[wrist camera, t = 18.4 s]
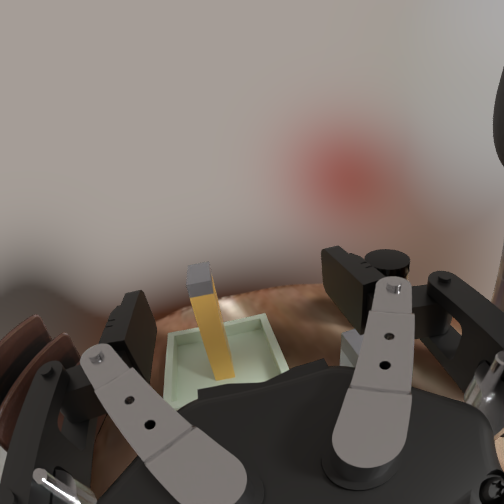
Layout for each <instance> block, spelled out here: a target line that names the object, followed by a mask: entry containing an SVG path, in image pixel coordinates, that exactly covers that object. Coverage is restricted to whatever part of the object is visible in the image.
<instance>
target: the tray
mask: <svg viewBox="0 0 504 504" xmlns="http://www.w3.org/2000/svg"><path fill="white" fill-rule="evenodd" d="M223 323H224V327H225V331H226V335H227V339H228V343H229V347H230V351H231V356H232V361H233V367H234V372H235V377H234V378H229V379H224V380H218V381H216V380H215V377H214V374H213V371H212V368H211V365H210V362H209V359H208V356H207V353H206V350H205V347H204V343H203V340H202V337H201V334H200V331H199V327H198V328H193V329H188V330H182V331H177V332H171V333H168V340H167V351H166V364H165V377H164V393H163V399H164V400H165V401H166V402H167V403H168V404H169V405H170V406H171V407H172V408H173V409H174V410H175V411H177V410H179V409H180V408H181V407H183V406H184V405H186V404H188V403H190V402H192V401H194V400H196V399H198V392H197V389H202V388H208V387H213V386H218V385H223V384H228V383H258V382H264V381H267V380H269V379H271V378H273V377H275V376H277V375H279V374H281V373H284V372H286V371H288V370H289V367H288V365H287V363H286V360H285V358H284V356H283V353H282V351H281V349H280V347H279V344H278V342H277V340H276V337H275V335H274V333H273V330H272V328H271V326H270V323H269V321H268V319H267V316H266V314H265V313H264V314H259V315H255V316H251V317H246V318H242V319H237V320H233V321H228V322H223Z"/></svg>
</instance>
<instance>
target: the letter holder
mask: <svg viewBox="0 0 504 504" xmlns="http://www.w3.org/2000/svg"><path fill="white" fill-rule="evenodd" d="M80 359H81V357H80V355H79V353H78V351H77V350H76V348H75V346H74V344H73V342H72V340H71V338H70V336H69V335H68V334H67V333H66V332H63V333H61V334H60V335H58V336H57V337H56V338H54V339H53V340H52V338H51V336H50V335H49V333H48V330H47V328H46V326H45V324H44V322H43V320H42V318H41V317H40V316H39V315H37V314H36V315H32V316H30V317H29V318H27V319H26V320H24V321H23V322H21V323H20V324H19V325H17V326H16V327H15V328H14V329H12V330H11V331H10V332H9V333H8V334H7V335H6V336H5V337H4V338H3V339H1V341H0V446H1V447H2V448H3V449H4V450H5V451H6V452H8V448H9V445H10V442H11V438H12V435H13V432H14V429H15V426H16V423H17V420H18V417H19V414H20V411H21V409H22V406H23V403H24V401H25V398H26V396H27V393H28V391H29V388H30V386H31V383H32V381H33V379H34V376H35V374H36V372H37V370H38V369H39V368H40V367H41V366H42V365H44V364H45V363H47V362H50V361H59V362H61V364H62V365H63V367H64V368H65V370H66V369H68V368H71V367H74V366H77V365H79V364H80ZM106 415H107V414H104V415H101V416H98V419H97V426H96V433H95V439H96V436H97V434H98V432H99V430H100V428H101V425H102V423H103V421H104V419H105V417H106ZM63 420H64V416H63V414H62V413H61V412H60V413H59V416H58V427H59V430H60V432H61V429H62V424H63ZM94 441H95V440H94Z"/></svg>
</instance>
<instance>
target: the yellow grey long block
mask: <svg viewBox="0 0 504 504" xmlns="http://www.w3.org/2000/svg"><path fill="white" fill-rule="evenodd" d="M186 286H187V290H188V293H189V297H190V300H191V304H192V307H193V311H194V314H195V318H196V321H197V324H198V327H199V331H200V334H201V337H202V340H203V343H204V347H205V350H206V353H207V356H208V359H209V362H210V365H211V368H212V371H213V374H214V377H215V380H216V381H218V380H224V379H229V378H234V377H235V372H234V367H233V361H232V356H231V351H230V347H229V343H228V339H227V335H226V331H225V327H224V323H223V319H222V315H221V311H220V307H219V303H218V298H217V294H216V290H215V286H214V281H213V277H212V273H211V268H210V264H209V262H204V263H199V264H194V265H189V266H188V271H187V282H186Z"/></svg>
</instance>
